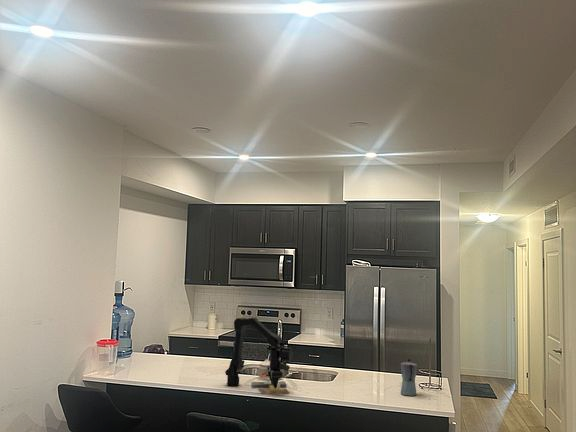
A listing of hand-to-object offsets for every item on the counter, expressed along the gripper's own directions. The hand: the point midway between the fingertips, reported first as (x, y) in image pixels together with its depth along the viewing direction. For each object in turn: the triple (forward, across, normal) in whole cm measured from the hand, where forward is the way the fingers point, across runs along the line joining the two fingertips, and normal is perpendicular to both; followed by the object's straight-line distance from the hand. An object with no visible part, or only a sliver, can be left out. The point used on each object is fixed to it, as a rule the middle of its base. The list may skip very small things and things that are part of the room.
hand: (274, 386), depth 306 cm
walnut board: (+3, 0, 0) cm, 3 cm away
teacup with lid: (+3, +33, -2) cm, 33 cm away
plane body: (+3, +12, +1) cm, 12 cm away
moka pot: (+3, -12, -77) cm, 78 cm away
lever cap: (+2, 0, 0) cm, 3 cm away
